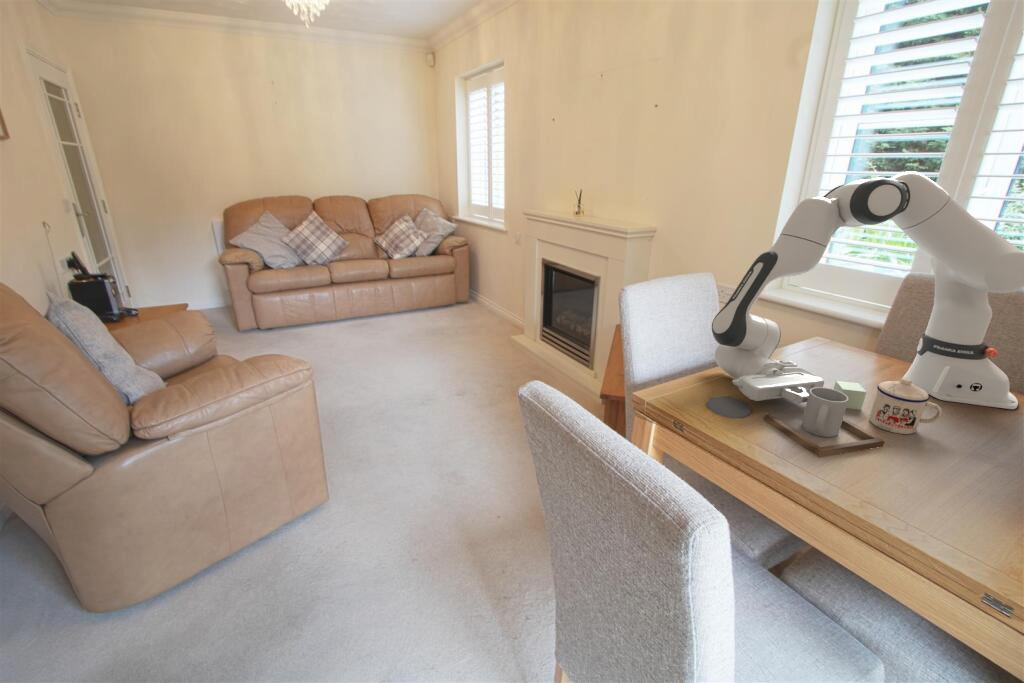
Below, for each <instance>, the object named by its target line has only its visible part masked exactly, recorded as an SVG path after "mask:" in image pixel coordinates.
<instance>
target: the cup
mask: <svg viewBox="0 0 1024 683" xmlns="http://www.w3.org/2000/svg"><path fill="white" fill-rule="evenodd" d="M847 403H848V397H847V396H846V395H845V394H844V393H842V392H839V391H837V390H834V388H829V387H824V386H823V387H815V388H812V389H810V392H809V396H808V400H807V402H806V404H805V408H804V412H803V417H802V421H801V426H802V428H803V429H804V430H805V431H806V432H808V433H810V434H813V435H814V434H815V436H817V435H818V436H817V437H821V436H822V437H824V438H834V437H836V436H838V435H839V433H840V430H841V427H842V426H841V424H842V420H843V418H844V416H845V413H846V409H847V408H846V406H847Z"/></svg>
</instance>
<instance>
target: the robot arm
mask: <svg viewBox="0 0 1024 683" xmlns="http://www.w3.org/2000/svg"><path fill="white" fill-rule="evenodd" d="M888 220H892V221H893V223H894V224H895V225H896V226H897V227H898V228H899V229H900V230H901V231H902V232H903V233H904V234H906V236H908V238H910V240H912V242H914V243H915V244H916V245H917V246H918V247H919V248H920V249H922V251H925V252H926V253H928V254H929V255H931V256H930V265H931V268H932V270H933V273H934V298H933V299H934V300H933V307H932V310H931V314H930V318H929V320H928V324H927V326H926V329H925V332H923V333H922V335H921V337H920V339H919V342H918V345H917V349H916V351H917V354H916V355H915V357H914V360H913V362H912V363H911V365H910V367H909V369H908V370H907V371H906V373H905V374H904V376H902V378H907V379H910V380H911V381H912V384H914V385H915V386H917V387H919V388H921V389H923V390H924V391H926V392H927V393H928V395H930V396H931V397H934V398H936V399H938V400H940V401H946V402H953V403H954V402H955V403H961V404H970V405H976V406H983V407H992V408H1001V409H1007V410H1015V409H1017V408H1018V405H1019V401H1018V399H1017V398H1016V396H1015V394H1012V393H1013V392H1010V385H1011V384H1010V379H1009V377H1008V375H1006V373H1005V372H1004V371H1002V370H1001V369H1000V367H998V366H997V365H996V364H995V363H993V361H992V360H990V359H989V358H995V357H997V355H999V354H998V353H999V352H998V351H997V350H996V349H995V348H993V347H991V346H990V345H989V344H987V343H985V342H984V338H985V336H986V333H987V331H988V329H989V325H990V323H991V320H992V318H993V310H992V307H991V306H990V302H989V296H988V295H989V293H993V294H1009V293H1015V292H1017V291H1020V290H1022V289H1024V251H1023V250H1022V249H1020V248H1018V247H1016V246H1015V245H1014V244H1012V243H1011V242H1009V241H1008V240H1007V238H1004V237H1003V236H1002V235H1001V234H998V233H997V232H996V231H995V230H993V229H992V228H990V227H988V226H987V225H986V224H984V223H983V222H981V221H979V220H978V219H977V218H975V217H974V216H973V215H971V214H970V212H968V211H967V210H966V209H965V208H964V207H963V206H962V205H961V204H960V203H959V202H958V201H957V200H955V198H954V197H953V196H951V195H950V194H949V193H948V192H947V191H946V190H945V189H944V188H943V187H942V186H940V185H939V184H937V183H936V182H935V181H933V180H932V179H931V178H929V177H927V176H925V174H922V173H920V172H918V171H915V170H914V171H913V170H912V171H911V170H910V171H909V170H908V171H905V172H904V171H903V172H901V173H898V174H896V175H894V176H893V177H891V178H886V177H873V178H866V179H859V180H855V181H852V182H849V183H847V184H841V185H838V186H835V187H834V188H832V189H830V190H829V191H828V192H827V193H826V194H825V195H823V196H813V197H808V198H805V199H803V200H802V201H800V202H799V204H798V205H797V207H796V208H795V209H794V210H793V212H792V213H791V214H790V216H789V218H787V221H786V223H785V224H784V226H783V228H782V230H781V231H780V234H779V236H778V238H777V240H775V243H773V245H772V246H771V247H770V248H769V249H768V251H765V252H763V253H761V254H760V255H759V256H758V257H757V258H756V259H755V260H754V261H753V263H752V264H751V265H750V267H749V268H748V270H747V271H746V273H745V274H744V276H743V277H742V278H741V280H740V282H739V284H738V285H737V286H736V288H735V290H734V291H733V293H732V294H731V296H730V297H729V299H728V301H726V303H725V304H724V305H723V307H722V308H721V309H720V310H719V311H718V312H717V314H716V315H715V316H714V318H713V320H712V322H711V332H712V335H713V338H714V340H715V341H716V342H717V343H718V344H719V345H718V346H717V347H716V349H715V353H714V359H715V362H716V364H717V365H718V367H719V368H720V369H721V370H722V371H723V372H725V373H726V374H728V376H731V377H732V378H733V379H732V381H731V382H732V385H735V386H736V387H738V390H739V391H740V393H742V394H743V395H744V396H746V397H747V399H749V400H751V401H756V402H759V401H768V400H774V399H775V400H776V399H777V400H778V399H786V400H791V401H795V402H797V403H798V404H804V403H807V400H808V396H809V392H810V389H812V388H815V387H823V388H824V385H825V380H824V378H823V377H821V376H819V375H817V373H814V372H812V371H810V370H808V369H806V368H804V367H799V365H798V363H797V362H794V361H791V360H778V359H774V358H771V357H772V355H773V353H774V352H775V350H776V349H777V347H778V346H779V343H780V342H781V337H782V333H781V328H780V326H779V324H778V323H777V322H776V321H775V320H771V319H769V318H766V317H763V316H759V315H755V314H752V313H750V311H751V309H752V308H753V306H754V305H755V304H756V302H757V300H758V299H759V298H760V296H761V294H762V292H763V291H764V289H765V288H766V287H767V286H768V285H769V284H770V283H772V282H773V281H775V280H778V279H781V278H788V277H796V276H801V275H803V274H807V273H809V272H810V271H812V270H814V268H815V267H817V265H818V264H819V263H820V261H821V260H822V257H823V256H824V253H825V252H826V250H827V248H828V246H829V244H830V241H831V239H832V236H833V235H835V233H836V232H837V231H838V229H840V228H842V227H850V228H851V227H853V228H856V227H863V226H872V225H877V224H879V225H880V224H882V223H884V222H887V221H888Z"/></svg>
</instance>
